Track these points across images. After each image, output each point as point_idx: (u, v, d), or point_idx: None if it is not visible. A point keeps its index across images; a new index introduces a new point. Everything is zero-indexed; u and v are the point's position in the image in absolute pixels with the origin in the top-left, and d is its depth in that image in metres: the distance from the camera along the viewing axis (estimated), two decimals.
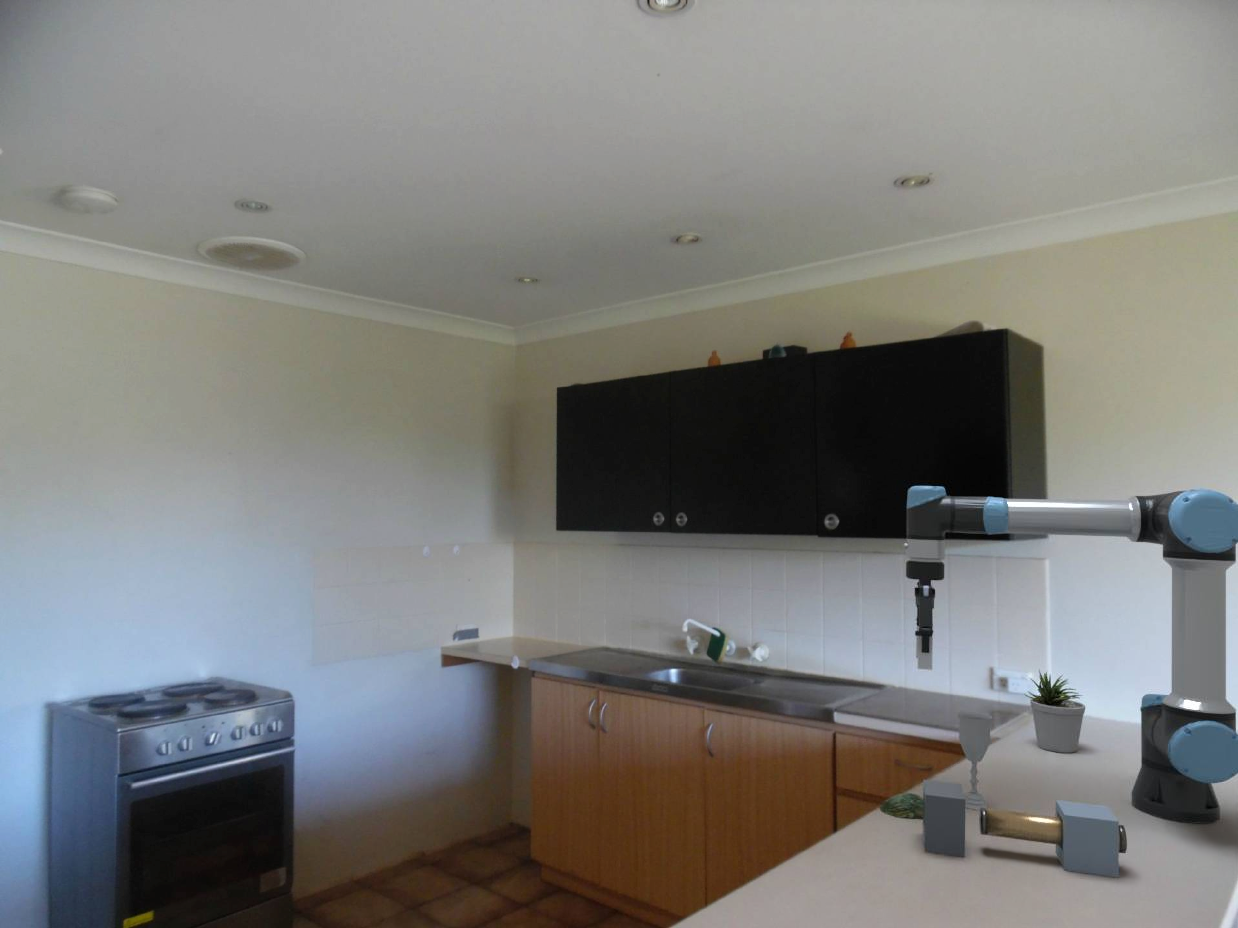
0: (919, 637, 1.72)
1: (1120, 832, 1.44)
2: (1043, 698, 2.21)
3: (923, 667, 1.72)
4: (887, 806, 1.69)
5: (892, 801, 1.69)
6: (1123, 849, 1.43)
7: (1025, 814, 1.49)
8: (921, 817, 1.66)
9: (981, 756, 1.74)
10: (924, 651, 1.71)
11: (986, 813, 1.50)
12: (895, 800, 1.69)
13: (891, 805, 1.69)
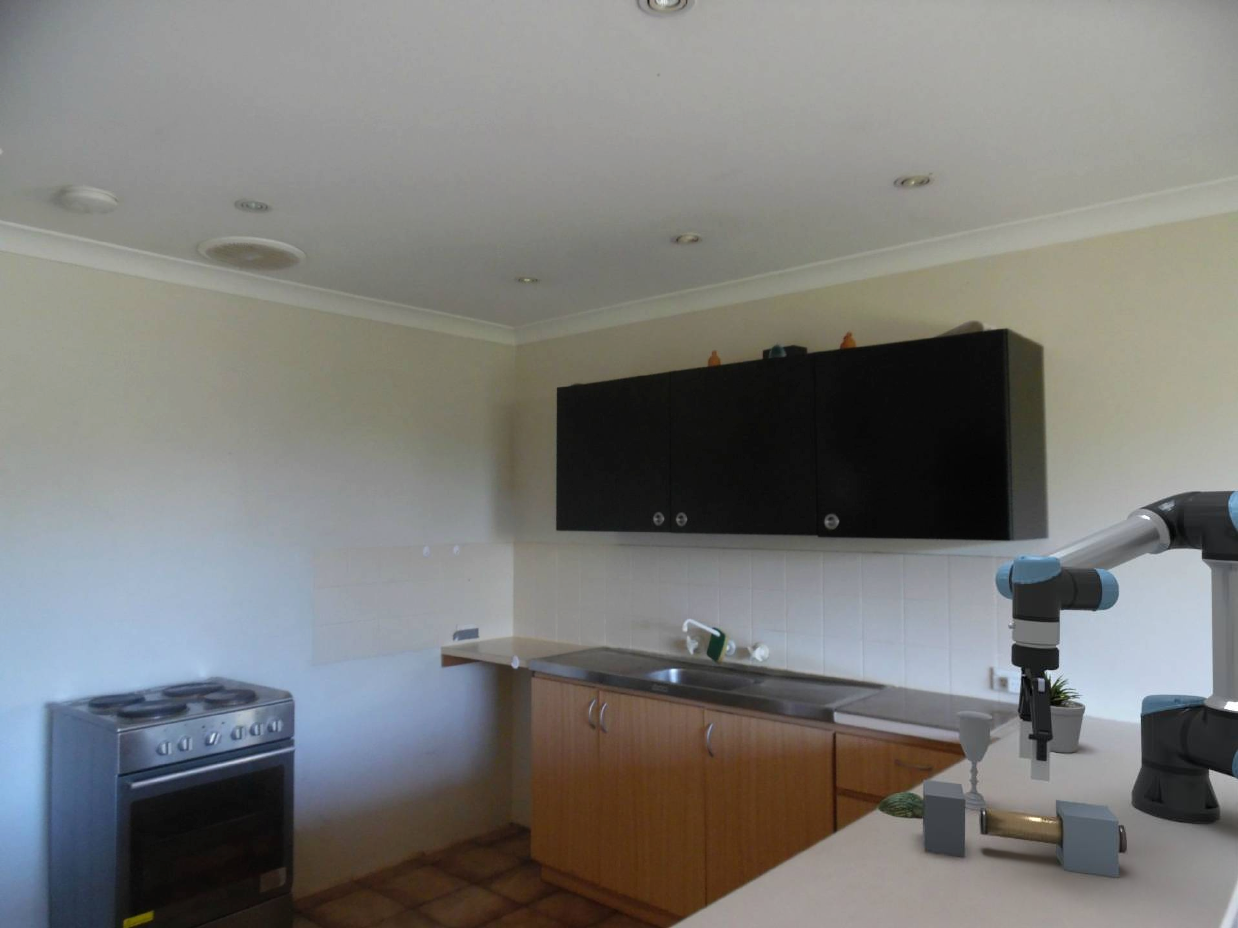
0: (1033, 741, 1.43)
1: (1120, 832, 1.44)
2: None
3: (1038, 777, 1.43)
4: (885, 805, 1.70)
5: (890, 800, 1.70)
6: (1123, 849, 1.43)
7: (1025, 814, 1.49)
8: (919, 816, 1.67)
9: (981, 756, 1.74)
10: (1040, 759, 1.42)
11: (986, 813, 1.50)
12: (893, 799, 1.69)
13: (889, 804, 1.69)
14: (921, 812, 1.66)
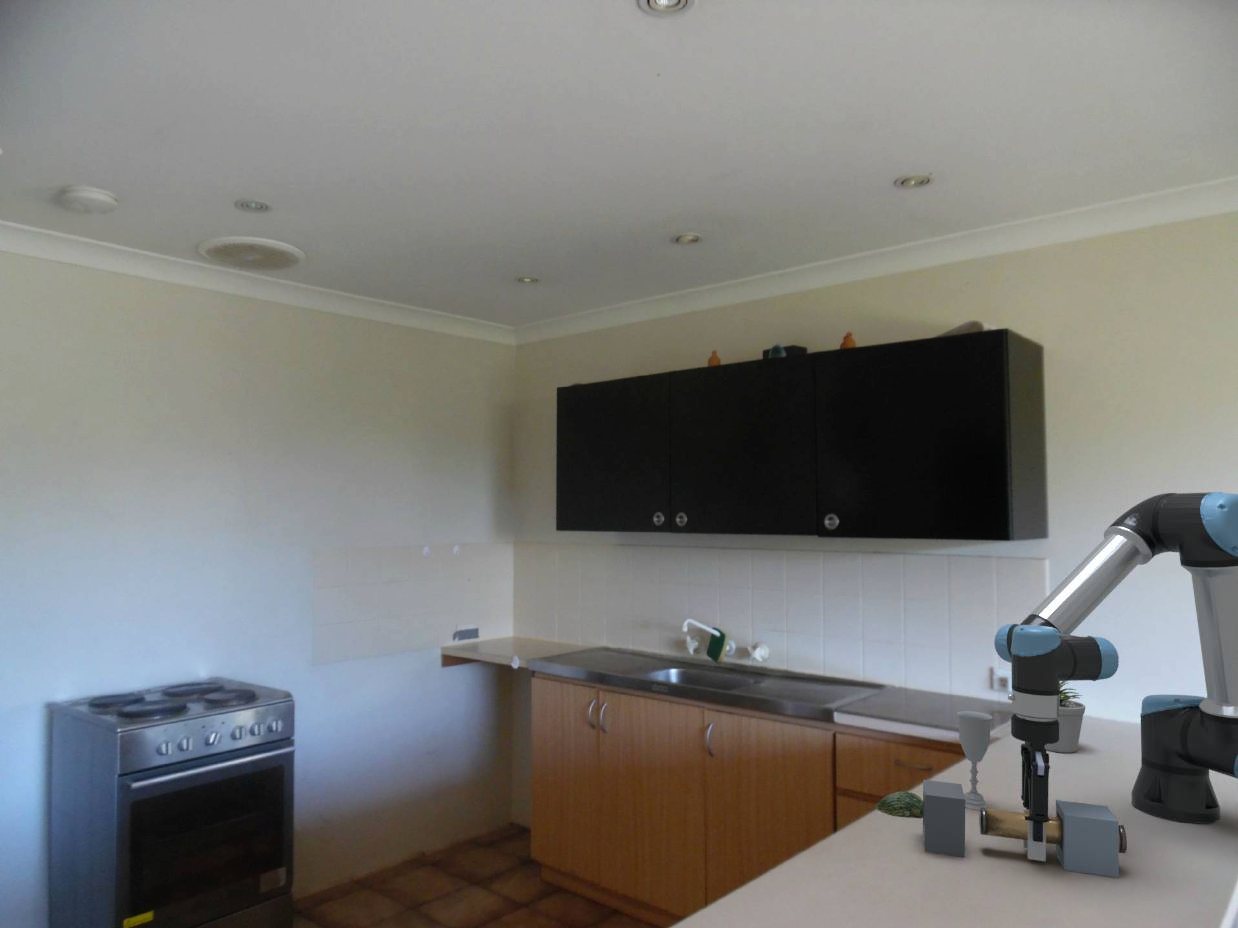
0: (1029, 821, 1.47)
1: (1120, 832, 1.44)
2: None
3: (1035, 857, 1.46)
4: (883, 804, 1.70)
5: (888, 799, 1.70)
6: (1122, 849, 1.43)
7: (1025, 814, 1.49)
8: (917, 815, 1.67)
9: (981, 756, 1.74)
10: (1036, 840, 1.45)
11: (986, 813, 1.50)
12: (891, 798, 1.70)
13: (887, 803, 1.70)
14: (919, 811, 1.67)
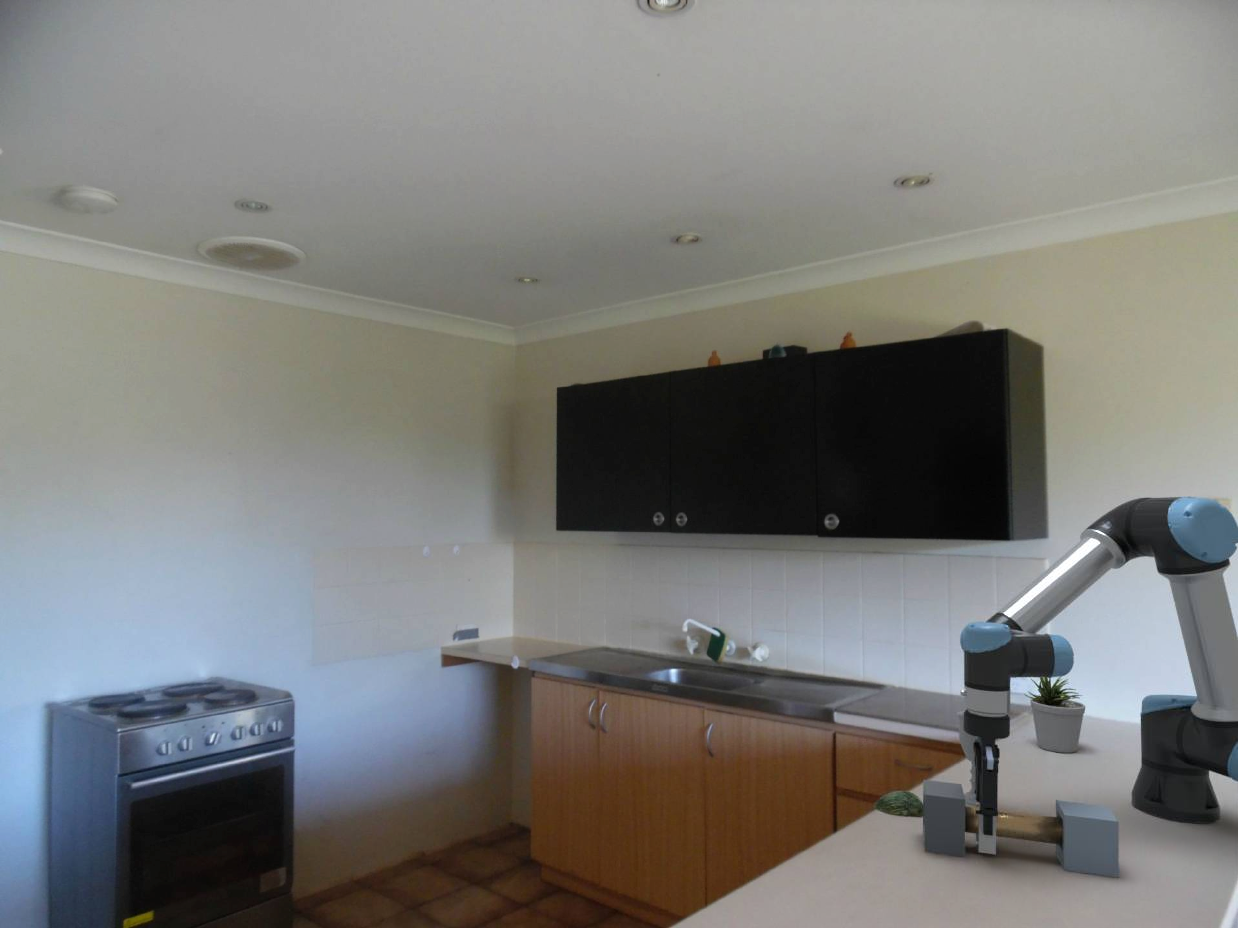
0: (980, 815, 1.49)
1: None
2: (1043, 698, 2.21)
3: (985, 851, 1.48)
4: (881, 803, 1.71)
5: (886, 798, 1.71)
6: None
7: (977, 808, 1.52)
8: (915, 814, 1.67)
9: None
10: (987, 833, 1.47)
11: None
12: (889, 797, 1.70)
13: (885, 802, 1.70)
14: (916, 810, 1.67)
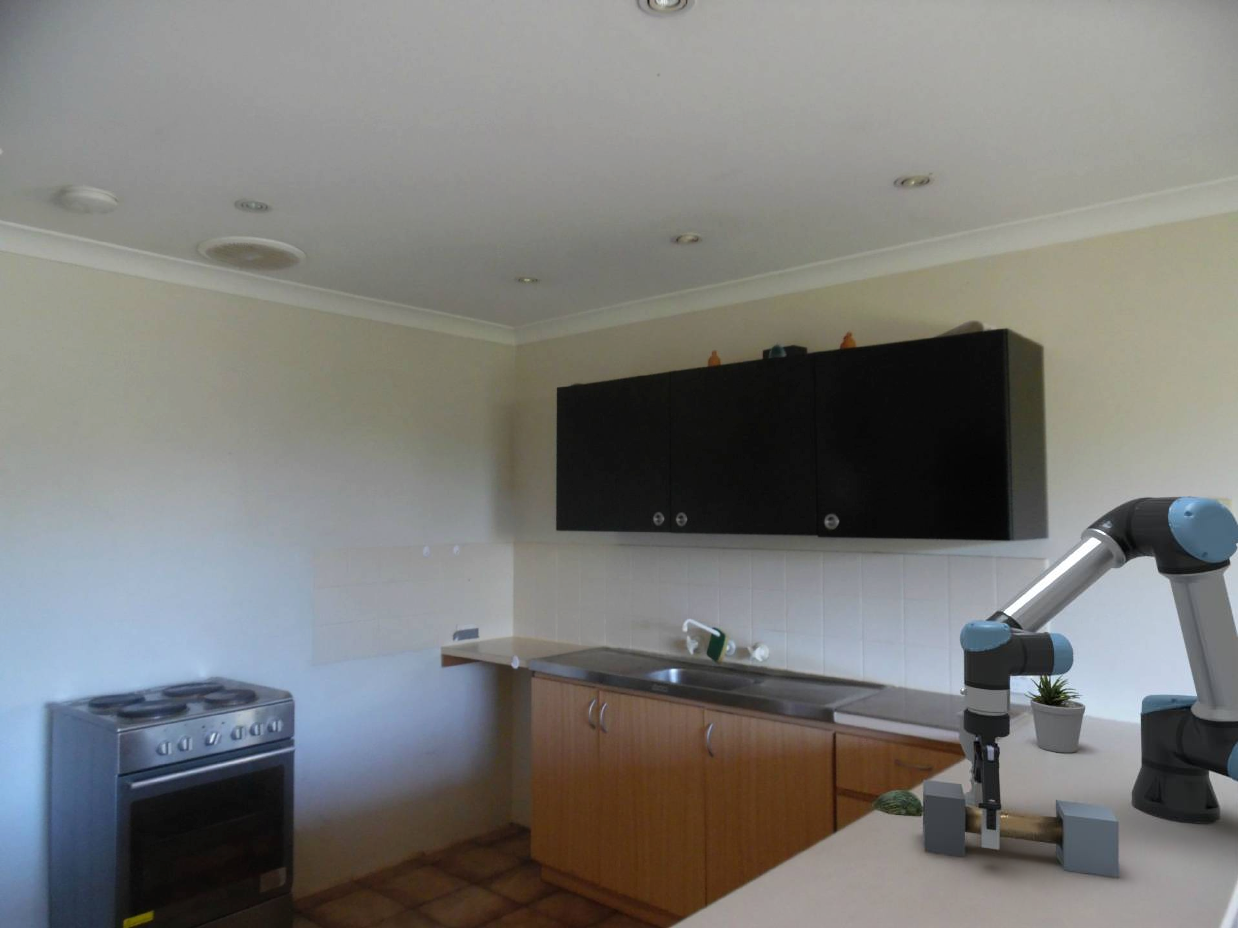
0: (983, 809, 1.45)
1: None
2: (1043, 698, 2.21)
3: (988, 846, 1.44)
4: (880, 803, 1.71)
5: (885, 798, 1.71)
6: None
7: (976, 808, 1.52)
8: (913, 814, 1.68)
9: None
10: (990, 828, 1.44)
11: None
12: (888, 797, 1.71)
13: (884, 801, 1.71)
14: (915, 810, 1.68)
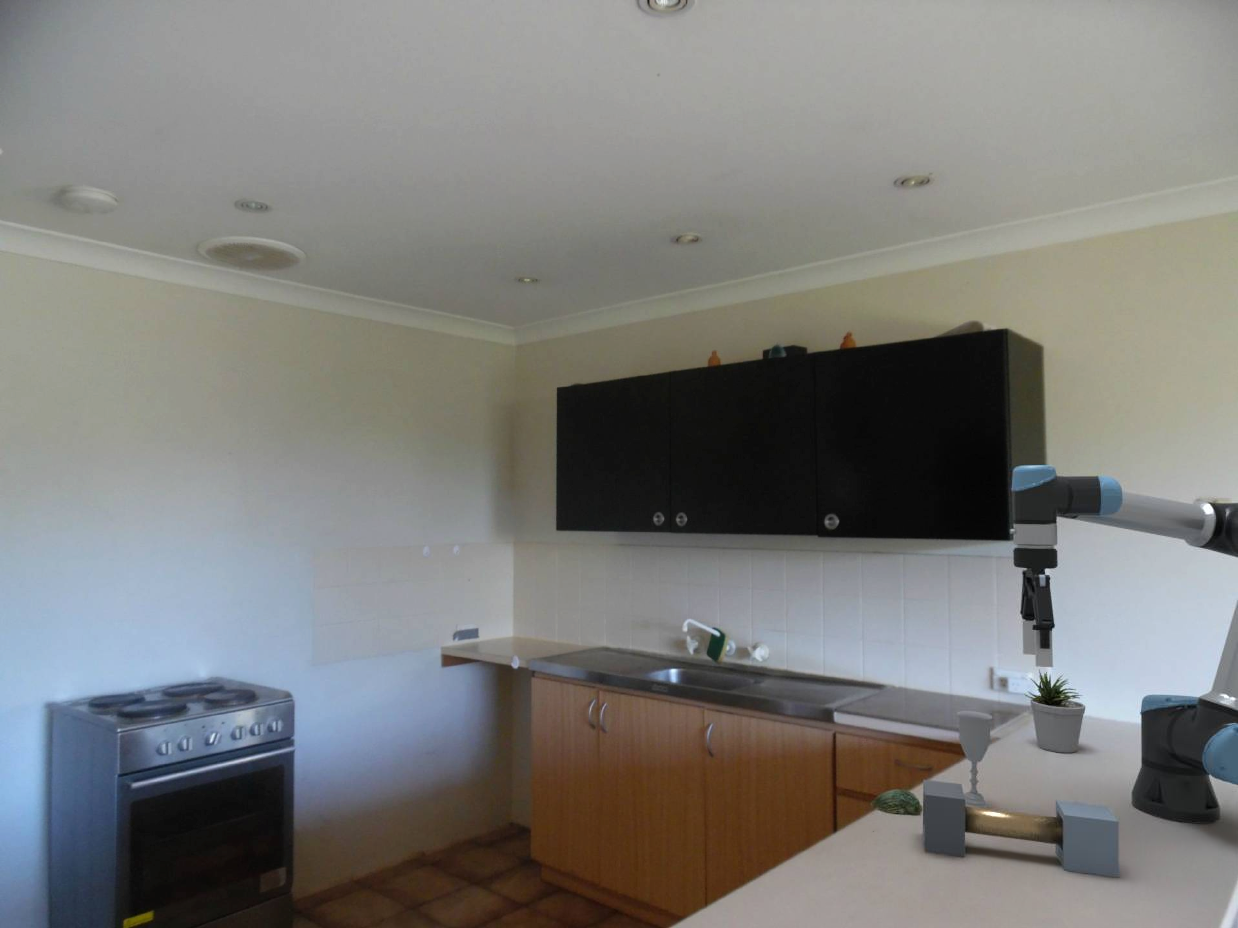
0: (1037, 631, 1.56)
1: None
2: (1043, 698, 2.21)
3: (1042, 664, 1.56)
4: (878, 802, 1.72)
5: (883, 797, 1.72)
6: None
7: (976, 808, 1.52)
8: (911, 813, 1.68)
9: (981, 756, 1.74)
10: (1044, 647, 1.55)
11: None
12: (886, 796, 1.71)
13: (882, 801, 1.71)
14: (913, 809, 1.68)
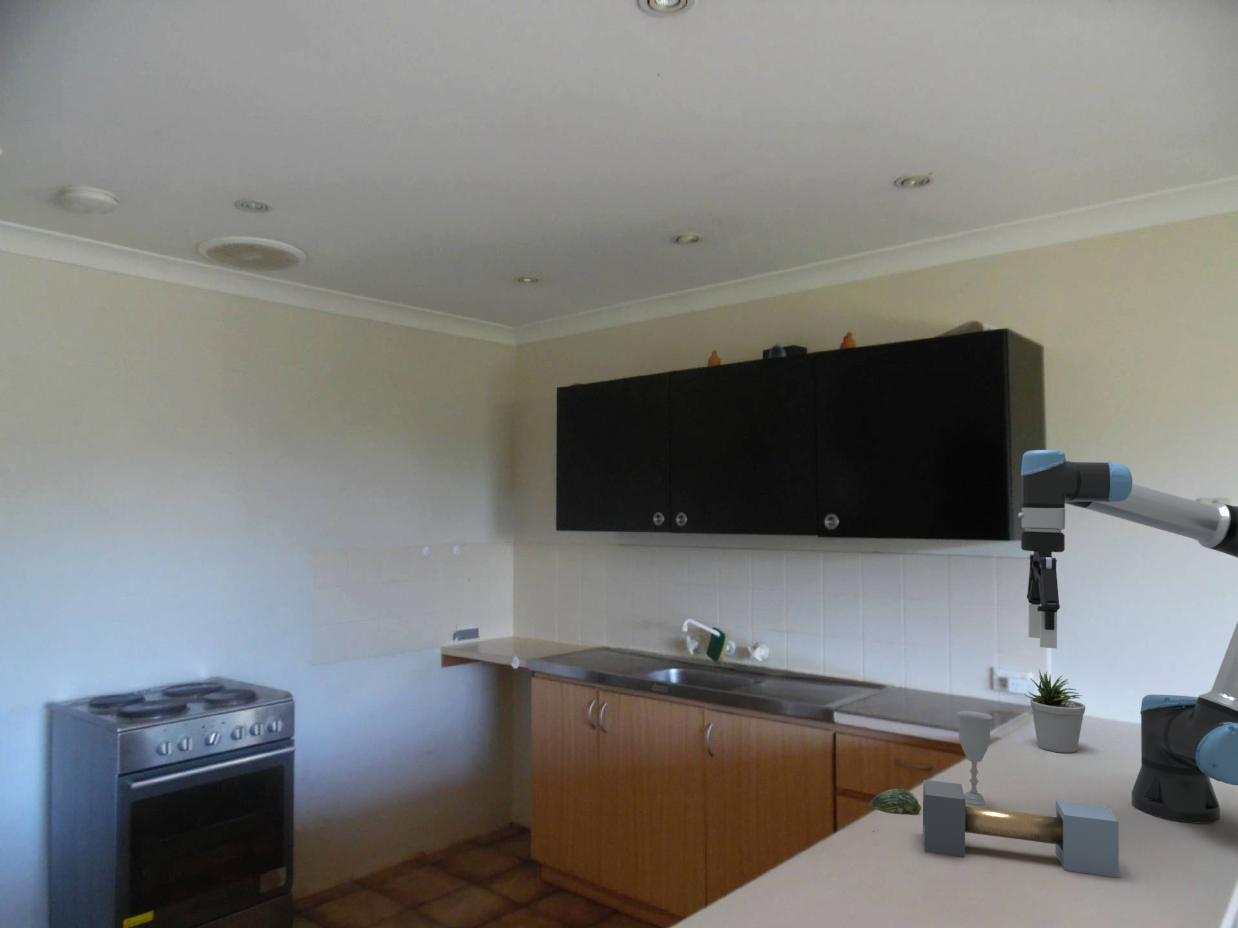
0: (1042, 613, 1.58)
1: None
2: (1043, 698, 2.21)
3: (1047, 645, 1.58)
4: (877, 801, 1.72)
5: (882, 796, 1.72)
6: None
7: (976, 808, 1.52)
8: (910, 812, 1.69)
9: (981, 756, 1.74)
10: (1048, 628, 1.57)
11: None
12: (885, 795, 1.72)
13: (881, 800, 1.71)
14: (912, 808, 1.68)
